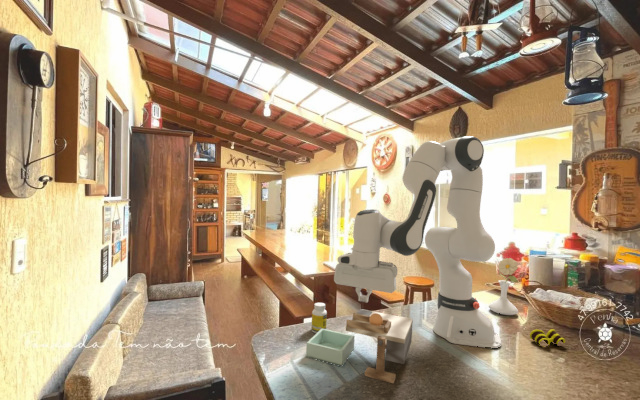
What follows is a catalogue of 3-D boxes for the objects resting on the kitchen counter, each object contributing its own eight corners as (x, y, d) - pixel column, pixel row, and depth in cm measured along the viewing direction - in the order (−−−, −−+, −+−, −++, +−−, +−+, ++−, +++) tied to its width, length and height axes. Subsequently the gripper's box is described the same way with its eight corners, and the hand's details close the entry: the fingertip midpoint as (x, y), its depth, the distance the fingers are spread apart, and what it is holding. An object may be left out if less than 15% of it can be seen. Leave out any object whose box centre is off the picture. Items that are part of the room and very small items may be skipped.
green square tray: (354, 349, 103) (354, 335, 103) (341, 366, 92) (342, 351, 92) (321, 341, 108) (321, 328, 108) (306, 357, 97) (306, 342, 97)
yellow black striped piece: (539, 350, 109) (542, 337, 108) (527, 340, 114) (530, 328, 113) (565, 349, 110) (568, 337, 109) (552, 339, 115) (555, 327, 114)
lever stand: (406, 347, 105) (407, 314, 105) (393, 383, 85) (395, 343, 85) (382, 342, 109) (383, 310, 108) (364, 375, 88) (365, 336, 88)
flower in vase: (482, 307, 146) (485, 253, 145) (506, 307, 147) (508, 254, 146) (502, 319, 133) (505, 260, 132) (527, 319, 134) (530, 260, 133)
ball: (384, 326, 95) (384, 312, 95) (380, 331, 91) (381, 317, 91) (371, 323, 97) (371, 310, 97) (367, 328, 93) (367, 314, 93)
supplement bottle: (324, 334, 113) (325, 307, 113) (309, 333, 114) (310, 306, 114) (327, 328, 118) (328, 302, 118) (313, 326, 119) (314, 301, 119)
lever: (411, 341, 102) (412, 313, 101) (403, 365, 87) (404, 333, 87) (360, 330, 108) (361, 304, 108) (344, 350, 94) (346, 321, 94)
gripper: (399, 261, 102) (397, 304, 102) (340, 254, 110) (337, 293, 111) (395, 265, 96) (393, 310, 96) (333, 257, 105) (331, 298, 105)
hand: (363, 301), depth 104 cm, fingers closed
